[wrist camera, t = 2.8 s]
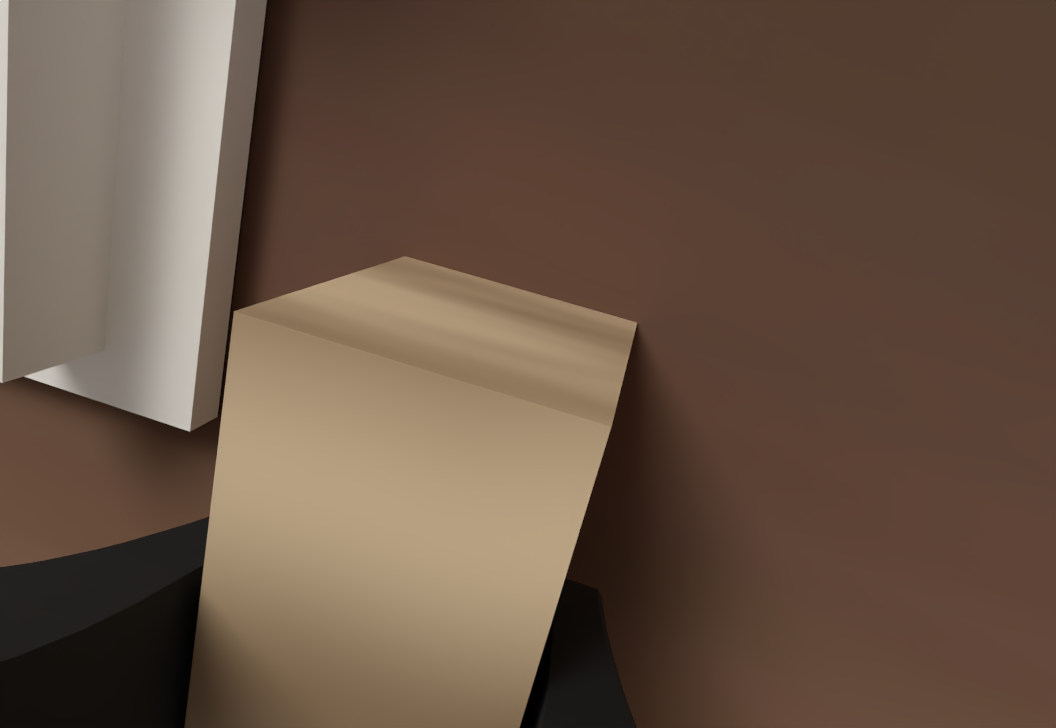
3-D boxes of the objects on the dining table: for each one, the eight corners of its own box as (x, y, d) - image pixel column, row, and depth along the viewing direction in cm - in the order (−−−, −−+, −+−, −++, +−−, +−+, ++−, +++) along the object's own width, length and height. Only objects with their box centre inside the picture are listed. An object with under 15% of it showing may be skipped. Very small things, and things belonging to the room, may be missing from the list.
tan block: (498, 779, 15) (412, 1074, 10) (320, 713, 15) (156, 963, 10) (637, 321, 11) (611, 426, 7) (407, 255, 12) (233, 311, 7)
